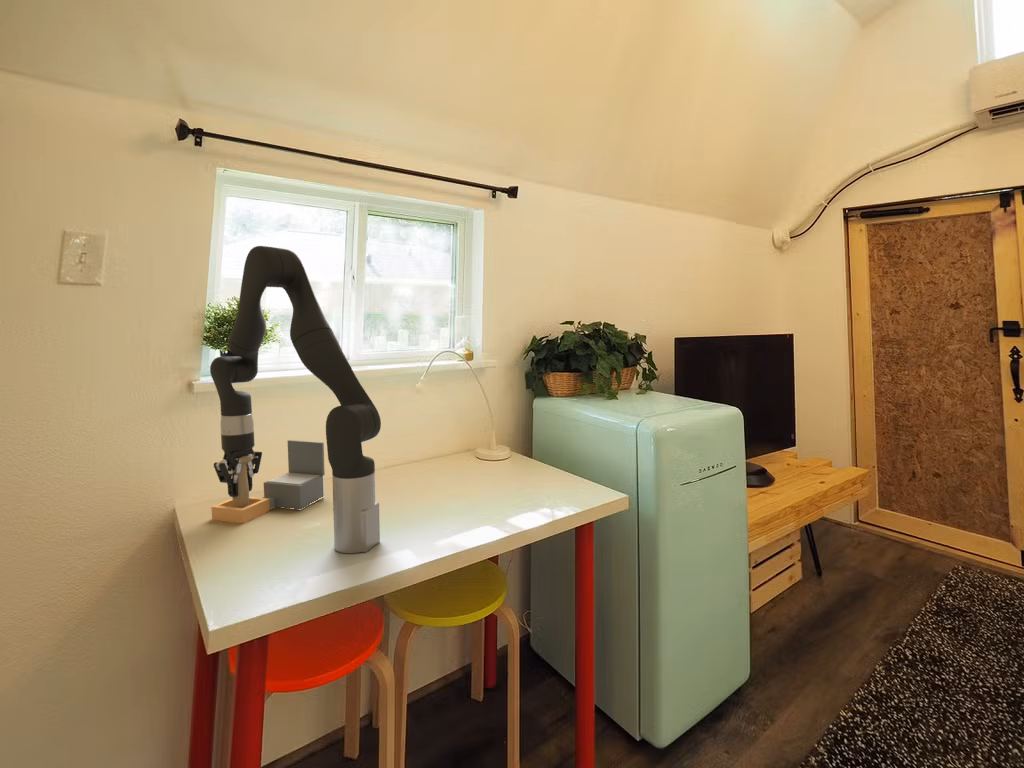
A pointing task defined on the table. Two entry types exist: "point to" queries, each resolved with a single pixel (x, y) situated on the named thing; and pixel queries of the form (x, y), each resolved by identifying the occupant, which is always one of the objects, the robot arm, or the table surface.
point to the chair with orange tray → (283, 485)
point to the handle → (242, 484)
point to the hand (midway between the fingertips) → (240, 493)
